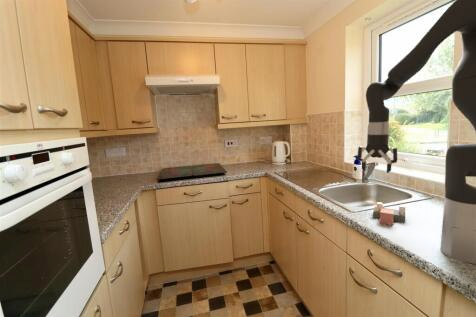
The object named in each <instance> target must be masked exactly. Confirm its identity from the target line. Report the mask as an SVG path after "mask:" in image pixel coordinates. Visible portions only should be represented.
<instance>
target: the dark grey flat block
mask: <svg viewBox="0 0 476 317" xmlns="http://www.w3.org/2000/svg"><path fill="white" fill-rule="evenodd" d="M382 209H388V210H394V219H393V222H394V221H395V222H402V223H406V212H405V213H400V212H399V209H393V208H392V209H391V208H386V207H385V208H384V207H382ZM380 211H381V210H379V209H377V206H374V208H373V211H372V218H377V219H380Z"/></svg>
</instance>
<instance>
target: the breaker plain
mask: <svg viewBox="0 0 476 317" xmlns="http://www.w3.org/2000/svg"><path fill="white" fill-rule="evenodd" d="M398 210H399V212H400V213H405V214H406V205H402V204H399V207H398Z"/></svg>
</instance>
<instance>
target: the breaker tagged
mask: <svg viewBox="0 0 476 317" xmlns="http://www.w3.org/2000/svg"><path fill="white" fill-rule="evenodd" d="M383 205H384V204H383V202H379V201H378V202H376V207H377V209H379V210H381V209H382V208H383Z"/></svg>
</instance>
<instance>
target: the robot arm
mask: <svg viewBox="0 0 476 317" xmlns="http://www.w3.org/2000/svg"><path fill="white" fill-rule="evenodd" d="M456 32H458V33H460V35H461V41H462V42H461V43H462V52H461V53H462V55H461V58H460V60H459V62H458V65H457V66H456V68H455V69H454V73H453V76H452V79H451V88H452V89H451V91H452V95H451V96H452V97H451V98H452V102H453V104H454V106H455V107H456V108H457V109H458V111H459V112H460V113H461V114H462V115H463V116H464V117H465V118H466V119H467V120H468V121H469V123H470V124H471V125H472V126H473V129H474V131H475V132H476V0H455V1H453V2H452V3H451V4H450V6H449V7H448V8H446V10H445V11H444V12H443V13H442V15H440V17H439V18H438V19H437V21H436V22H435V23H434V24H432V26H431V27H430V29H428V31H427V32H426V33H425V34H424V35H423V36H422V37H421V39H420V40H419V41H418V43H417V44H416V45H415V46H414V47H413V48H412V49H411V50H410V51H409V52H408V53H407V54H406V55H405V56H404V57H403V58H402V59H401V60H399V62H397V63H396V64H395V65H394V66H393V67H392V68H391V69H390V70H389V71H388V73H387V78H386V79H385V80H384V81H375V82H372V83H371V84H369V86H368V87H367V89H366V91H365V98H366V99H365V100H366V104H367V109H368V112H369V113H368V125H367V139H366V146H363V145H360V146H359V147H357V148H358V149H357V150H358V151H357V156H356V157H357V158H356V159H357V161H359V162H361V170H362V171H364V172H365V171H367V160H368V159H369V158H370V157H371V158H374V159H375V158H379V159H381V158H383V159H384V160H385V162H387V164H386V174H389V173H390V172H391V171H392V164H396V163H398V147H396V146H394V147H389V137H390V136H389V134H390V122H389V120H390V108H389V107H387V106H386V105H385V102H384V101H387V100H388V99H390V98H392V97H393V96H394V95H396V94H397V93H398V92H399V90H400V89H401V88H402V87H403V85H404V84H405V83H407V82H408V81H409V80H410V79H412V78H413V77H414V76H415V75H416V74H418V73H419V72H420V71H421V70H422V69H423V68H424V67H425V66H426V64H427V63H428V62H429V60H430V58H431V57H432V55H433V54H434V52H435V50H436V49H437V48H438V47H440V45H441V44H442V43H443V42H444V41H445V40H447V38H449V37H451V35H453V34H454V33H456ZM365 151H366V152H367V154H366V156H364V158H363V157H362V155H363V153H364V152H365ZM389 151H390V153H391V154H393V155H392V158H393V159H391V157H389V155H388V152H389ZM444 172H445V173H444V174H445V177H444V189H445V190H444V191H445V192H444V193H445V195H444V201H443V202H444V203H443V204H444V205H443V215H442V226H441V234H440V236H441V237H440V251H441V253H443V254H444V255H445V256H447V257H448V258H449V259H450V260H454V261H455V260H456V261H460V262H464V263H469V264H473V265H476V186H473V185H471V184H469V183H467V180H466V179H467V177H469V178H470V177H473V178H476V143H455V144H451V145H450V146H449V147H448V148H447V151H446V154H445V170H444Z"/></svg>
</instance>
